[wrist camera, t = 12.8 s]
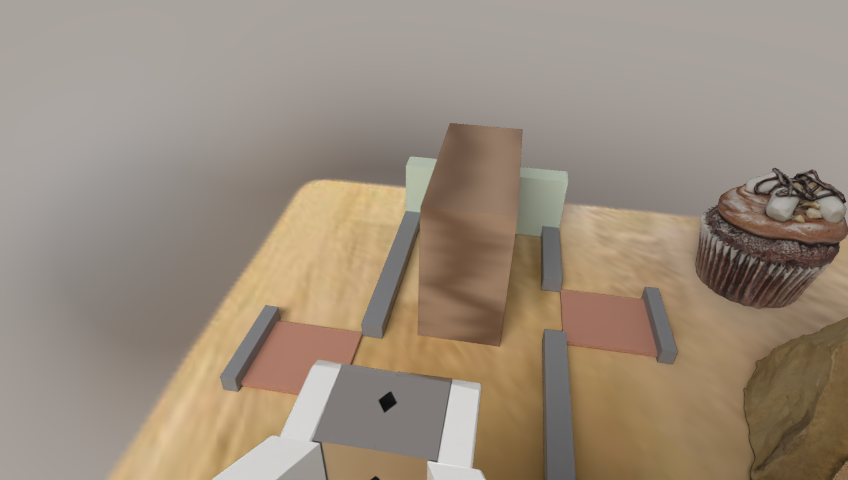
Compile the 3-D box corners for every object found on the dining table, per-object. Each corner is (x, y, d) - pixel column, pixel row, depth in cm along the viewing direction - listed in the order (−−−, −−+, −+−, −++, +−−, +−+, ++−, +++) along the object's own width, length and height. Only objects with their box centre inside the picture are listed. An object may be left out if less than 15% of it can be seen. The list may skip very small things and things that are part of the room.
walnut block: (507, 240, 50) (522, 129, 44) (499, 347, 38) (517, 217, 32) (444, 233, 51) (449, 123, 45) (417, 335, 39) (420, 206, 33)
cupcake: (759, 244, 50) (804, 145, 45) (838, 313, 42) (904, 204, 37) (664, 249, 49) (698, 149, 44) (726, 321, 41) (778, 210, 36)
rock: (858, 551, 25) (980, 450, 28) (798, 381, 24) (928, 298, 28) (681, 471, 35) (784, 404, 38) (638, 351, 35) (745, 293, 38)
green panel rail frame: (636, 236, 51) (652, 179, 47) (749, 636, 24) (806, 572, 21) (338, 203, 55) (333, 149, 51) (145, 516, 28) (109, 446, 24)
